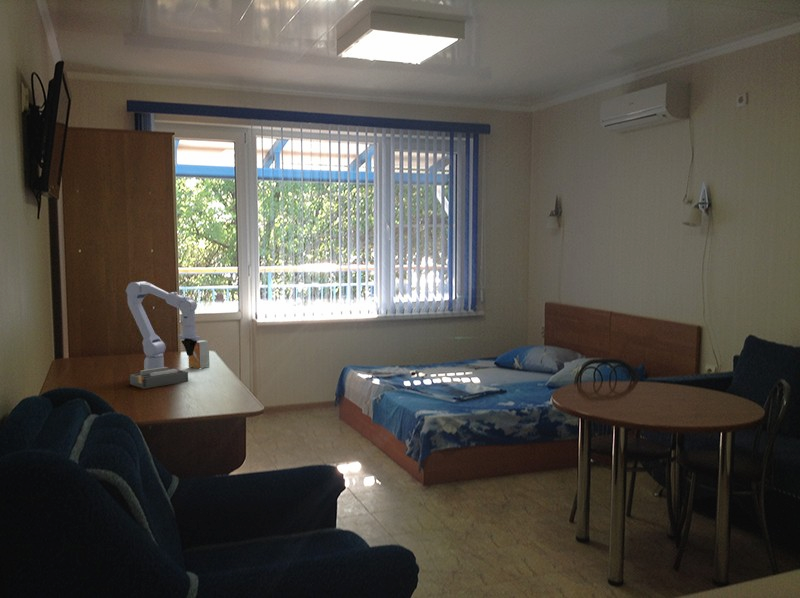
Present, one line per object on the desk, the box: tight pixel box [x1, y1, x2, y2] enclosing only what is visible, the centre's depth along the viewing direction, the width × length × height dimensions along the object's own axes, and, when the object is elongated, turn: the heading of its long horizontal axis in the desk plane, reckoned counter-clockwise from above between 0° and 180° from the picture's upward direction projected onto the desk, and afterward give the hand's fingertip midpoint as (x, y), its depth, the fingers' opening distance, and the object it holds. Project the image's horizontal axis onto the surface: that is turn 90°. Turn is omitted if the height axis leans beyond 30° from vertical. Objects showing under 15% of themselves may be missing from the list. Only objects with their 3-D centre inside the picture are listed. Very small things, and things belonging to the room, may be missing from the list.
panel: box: [149, 368, 178, 377], centre depth 291 cm, size 12×2×5 cm, turn 134°
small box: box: [188, 339, 210, 369], centre depth 331 cm, size 8×6×13 cm
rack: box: [129, 366, 189, 389], centre depth 294 cm, size 14×20×6 cm, turn 135°
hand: (190, 355), depth 308 cm, fingers closed
